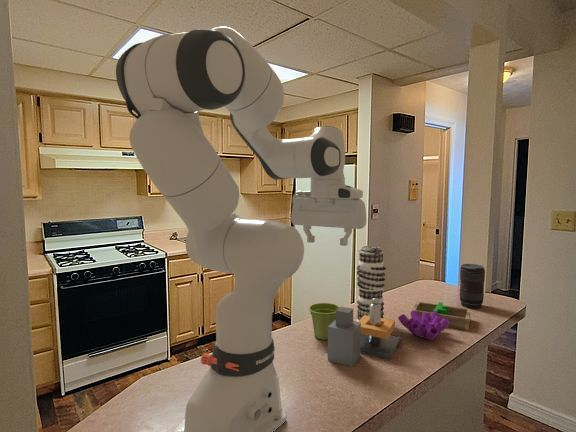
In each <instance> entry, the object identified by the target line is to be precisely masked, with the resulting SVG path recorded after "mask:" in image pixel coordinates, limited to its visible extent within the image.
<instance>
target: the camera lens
mask: <svg viewBox="0 0 576 432" xmlns="http://www.w3.org/2000/svg"><path fill="white" fill-rule="evenodd" d="M459 270H460V271H459V280H460V282H459V283H460V284H459V301H460V304H461V306H462V307H464V308H466V309H471V310H472V309H475V310H476V309H478V310H479V309H481V308H482V305H483V304H484V297H485V293H484V292H485V291H484V289H485V279H486V269H485V266H483V265H480V264H476V263H463V264H461V265H460V268H459Z"/></svg>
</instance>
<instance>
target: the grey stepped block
mask: <svg viewBox="0 0 576 432" xmlns="http://www.w3.org/2000/svg"><path fill="white" fill-rule="evenodd" d="M339 307H340V308H338V309H337V310H336V320H335V321H334V322H332V323H331V324H330V325H329V326H328V339H327V361H330V362H332V363H338V364H342V365H346V366H350V367H353V366H354V364H355V363H356V362H357V360H358V359H359V358H360V357H361V323H360V322H357V321H354V308H352V307H345V306H339Z"/></svg>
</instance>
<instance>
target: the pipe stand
mask: <svg viewBox="0 0 576 432" xmlns="http://www.w3.org/2000/svg"><path fill="white" fill-rule="evenodd" d="M369 325H372V326H377V327H381V304H380V303H379V299H378V298H372V302H371V303H370V324H369ZM401 342H402V337H399V336H395V335H391V334H390V335H389V337H388V338H387V339H383V338H378V337H373V336H369V335H364V334H361V353H362V354H366V355H371V356H376V357H378V358H383V359H388V360H392V358H393V356H394V355H395V353H396V351H397V349H398V348H399V346H400V344H401ZM361 353H360V354H361Z"/></svg>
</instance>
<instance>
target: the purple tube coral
mask: <svg viewBox="0 0 576 432" xmlns="http://www.w3.org/2000/svg"><path fill="white" fill-rule="evenodd" d="M409 314H410V317H411V318H412V319H411V318H408V316H407V315H406V314H401V315H399V316H398V321H399V322H400V323H401V325H402V326H403V327H405V329H407V331H409V332H410V333H412V335H413V334H414V335H415V336H417V337H421V338H424V339H427V340H434V339H435V338H436V337H438V334H440V333H442V332H444V330H446V329H447V328H449V327H448V325H449V323H450V322H449V321H448V320H446V319H445V318H443V319H442V318H440V317H439V314H438V313H436V312H431V314H430V316H429V313H425V312H423V313H422V320H421V318H420V316H419V313H418V311H412V310H411V311H410V313H409Z"/></svg>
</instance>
